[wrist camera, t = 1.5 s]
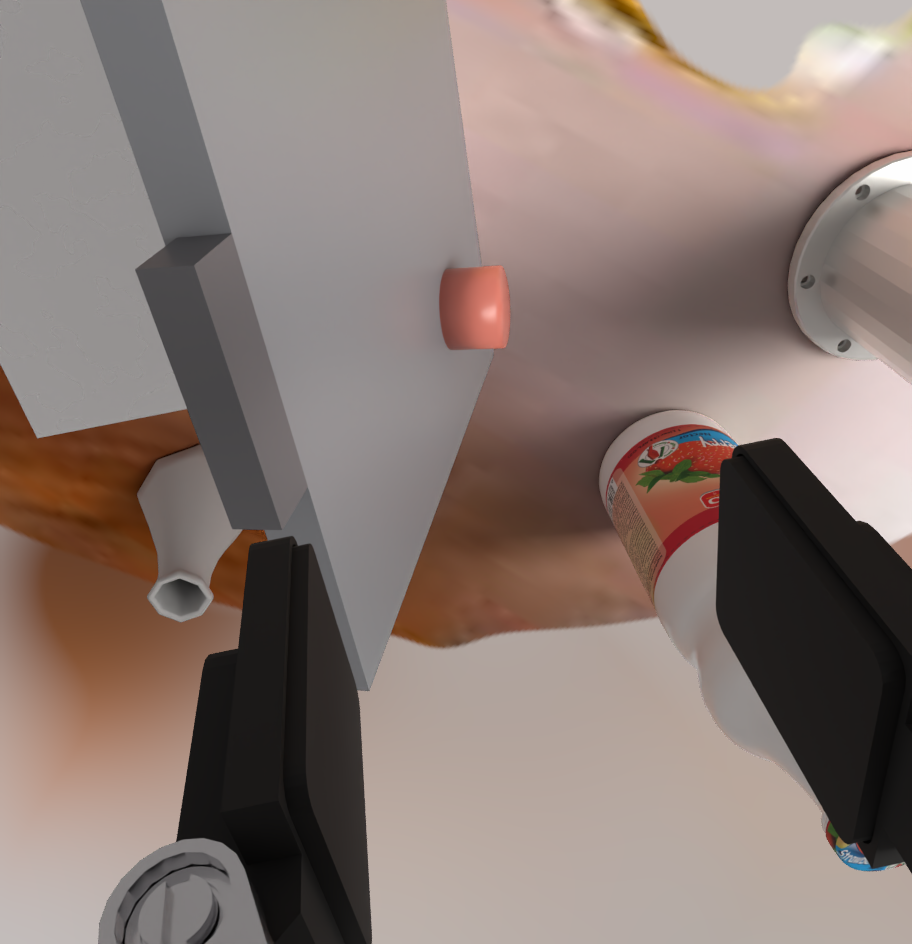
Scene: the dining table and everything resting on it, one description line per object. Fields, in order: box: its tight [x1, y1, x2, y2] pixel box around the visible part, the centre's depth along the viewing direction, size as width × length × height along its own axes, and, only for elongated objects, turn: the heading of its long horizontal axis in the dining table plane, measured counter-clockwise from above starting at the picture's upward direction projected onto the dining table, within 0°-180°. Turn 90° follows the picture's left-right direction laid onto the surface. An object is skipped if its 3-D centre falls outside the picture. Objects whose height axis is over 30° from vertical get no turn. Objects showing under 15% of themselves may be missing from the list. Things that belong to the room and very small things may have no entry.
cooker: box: [0, 0, 187, 438], centre depth 38 cm, size 20×25×10 cm
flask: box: [137, 445, 243, 622], centre depth 50 cm, size 7×7×10 cm
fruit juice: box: [599, 410, 906, 871], centre depth 46 cm, size 9×9×28 cm
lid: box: [80, 0, 510, 691], centre depth 25 cm, size 22×20×4 cm
